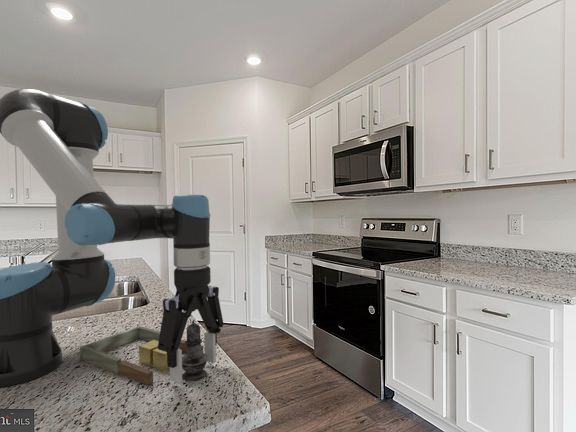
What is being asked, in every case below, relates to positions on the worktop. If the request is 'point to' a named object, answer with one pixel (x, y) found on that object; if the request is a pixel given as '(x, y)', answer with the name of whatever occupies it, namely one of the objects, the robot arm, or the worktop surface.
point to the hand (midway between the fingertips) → (194, 370)
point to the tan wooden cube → (160, 360)
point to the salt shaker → (193, 355)
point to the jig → (113, 364)
